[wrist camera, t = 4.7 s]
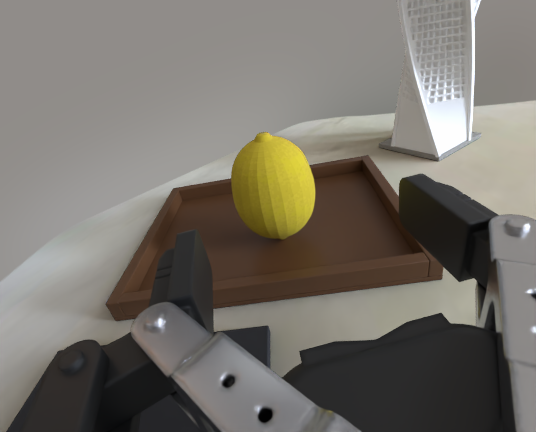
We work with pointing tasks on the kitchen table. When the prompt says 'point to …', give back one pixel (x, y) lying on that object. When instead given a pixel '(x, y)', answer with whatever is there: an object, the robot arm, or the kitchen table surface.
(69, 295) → the kitchen table surface
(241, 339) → the plate
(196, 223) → the tray
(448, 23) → the skyscraper
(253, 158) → the lemon
